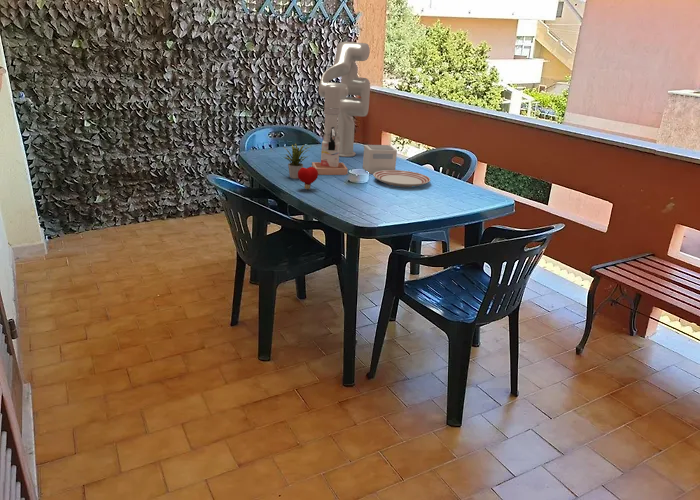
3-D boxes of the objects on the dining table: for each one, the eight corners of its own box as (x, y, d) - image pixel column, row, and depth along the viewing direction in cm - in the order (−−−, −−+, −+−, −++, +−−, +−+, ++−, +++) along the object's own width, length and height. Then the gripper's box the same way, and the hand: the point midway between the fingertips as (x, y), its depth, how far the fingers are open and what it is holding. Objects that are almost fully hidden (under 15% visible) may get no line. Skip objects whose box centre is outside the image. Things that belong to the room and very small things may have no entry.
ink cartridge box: (320, 165, 265) (321, 136, 259) (321, 163, 269) (323, 134, 264) (337, 167, 264) (339, 137, 259) (338, 165, 269) (340, 135, 263)
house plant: (318, 178, 254) (320, 144, 248) (297, 183, 245) (297, 147, 238) (298, 172, 263) (299, 139, 257) (276, 176, 253) (277, 142, 247)
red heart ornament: (300, 192, 231) (301, 170, 227) (294, 188, 237) (295, 166, 233) (320, 191, 235) (321, 168, 232) (313, 186, 241) (314, 164, 237)
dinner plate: (386, 172, 274) (386, 165, 273) (437, 181, 264) (438, 174, 262) (363, 183, 251) (363, 177, 250) (418, 194, 241) (419, 187, 239)
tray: (311, 168, 272) (311, 162, 271) (342, 168, 275) (342, 162, 274) (315, 174, 261) (315, 168, 259) (347, 174, 264) (347, 168, 263)
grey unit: (362, 167, 279) (364, 143, 275) (388, 167, 282) (390, 144, 278) (368, 173, 268) (369, 149, 263) (395, 174, 271) (397, 149, 266)
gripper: (321, 108, 264) (320, 144, 271) (327, 114, 248) (325, 152, 255) (336, 108, 265) (334, 145, 272) (343, 114, 250) (341, 152, 257)
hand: (330, 148), depth 264 cm, fingers closed on ink cartridge box, 6 cm apart
